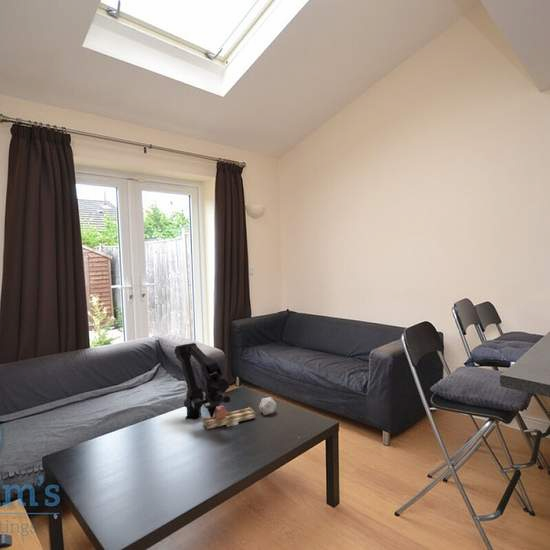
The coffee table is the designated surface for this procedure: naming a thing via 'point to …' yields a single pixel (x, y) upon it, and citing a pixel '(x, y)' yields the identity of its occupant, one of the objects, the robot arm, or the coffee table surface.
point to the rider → (220, 412)
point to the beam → (229, 418)
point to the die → (267, 405)
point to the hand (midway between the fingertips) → (211, 417)
